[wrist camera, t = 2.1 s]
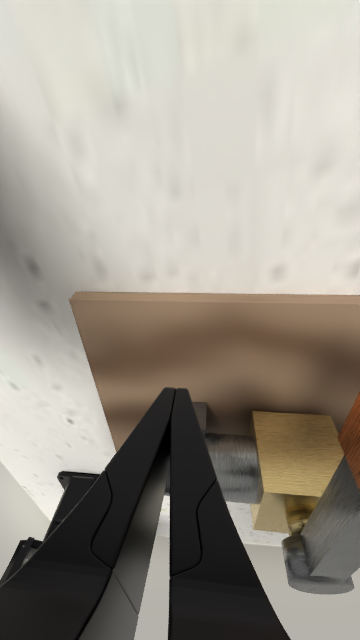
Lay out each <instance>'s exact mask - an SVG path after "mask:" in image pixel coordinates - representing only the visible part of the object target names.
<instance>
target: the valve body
mask: <svg viewBox="0 0 360 640" xmlns="http://www.w3.org/2000/svg"><path fill="white" fill-rule="evenodd" d="M192 403H193V406H194V409H195V412H196V415H197V418H198V421H199V424H200V427H201V430H202V433H203V436H204V439H205V442H206V445H207V449H208V452H209V455H210V458H211V461H212V464H213V467H214V470H215V473H216V476H217V481H218V482H219V485H220V488H221V491H222V494H223V497H224V499H225V501H230V502H240V503H250V504H251V513H252V523H253V530H262V531H271V532H281V533H289V536H294V535H299V534H301V532H302V530H303V528H304V527H305V525H306V523H307V521H308V519H309V518H310V516H311V514H312V512H313V510H314V509H315V507H316V505H317V503H318V501H319V500H320V498H321V496H322V494H323V492H324V491H325V489H326V487H327V485H328V483H329V482H330V480H331V478H332V476H333V474H334V473H335V471H336V469H337V467H338V465H339V464H340V462H341V460H342V458H343V456H344V452H343V450H342V448H341V445H340V443H339V441H338V438H337V436H338V432H337V430H336V427H335V425H334V423H333V420H332V418H331V416H329V415H312V414H295V413H278V412H261V411H252V415H251V421H250V427H249V432H248V435H233V434H218V433H206V404H207V402H192ZM140 420H141V419H140ZM140 420H139V421H140ZM138 423H139V422H138ZM164 495H166V496H170V468H169V473H168V478H167V482H166V487H165V492H164Z"/></svg>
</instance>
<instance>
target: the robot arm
mask: <svg viewBox="0 0 360 640" xmlns="http://www.w3.org/2000/svg"><path fill="white" fill-rule="evenodd" d="M169 468H170V580H169V624H168V626H169V627H168V640H291V639H290V638H289V636H288V635H287V633H286V631H285V630H284V628H283V626H282V624H281V623H280V621H279V619H278V617H277V615H276V613H275V611H274V610H273V608H272V605H271V604H270V602H269V599H268V597H267V595H266V594H265V592H264V589H263V587H262V585H261V583H260V580H259V579H258V576H257V574H256V572H255V570H254V567H253V565H252V563H251V561H250V559H249V556H248V555H247V552H246V550H245V548H244V546H243V543H242V541H241V539H240V537H239V535H238V532H237V530H236V527H235V525H234V523H233V520H232V518H231V516H230V513H229V510H228V508H227V505H226V502H225V499H224V497H223V494H222V491H221V488H220V485H219V482H218V481H217V476H216V473H215V470H214V467H213V464H212V461H211V458H210V455H209V452H208V449H207V445H206V442H205V439H204V436H203V433H202V430H201V427H200V424H199V421H198V418H197V415H196V412H195V409H194V406H193V403H192V400H191V397H190V394H189V391H188V389H187V388H177V389H176V388H173V387H165V388H164V389H163V390H162V391H161V393H160V394H159V395H158V397H157V398H156V399H155V401H154V402H153V403H152V405H151V406H150V408H149V409H148V410H147V412H146V413H145V414H144V416H143V417H142V418H141V420H140V421H139V423H138V424H137V425H136V427H135V428H134V429H133V431H132V432H131V434H130V435H129V436H128V438H127V439H126V440H125V442H124V443H123V444H122V446H121V447H120V449H119V450H118V451H117V453H116V454H115V455H114V457H113V458H112V459H111V461H110V462H109V464H108V465H107V466H106V468H105V471H103V472H102V473H101V474H100V475H88V474H77V473H66V472H59V474H58V476H57V478H58V480H59V481H60V483H61V485H62V486H63V488H64V493H63V495H62V497H61V500H60V502H59V505H58V507H57V509H56V512H55V514H54V516H53V519H52V521H51V523H50V526H49V528H48V530H47V533H46V535H45V538H44V540H43V542H42V541H39V540H35V539H34V538H32V537H29V538H28V540H21V541H20V542H19V545H18V547H17V549H16V551H15V553H14V555H13V557H12V559H11V561H10V563H9V565H8V567H7V569H6V571H5V573H4V574H3V576H2V578H1V580H0V640H134V636H135V631H136V626H137V621H138V614H139V611H140V606H141V602H142V597H143V592H144V587H145V583H146V577H147V572H148V568H149V564H150V558H151V554H152V549H153V544H154V540H155V535H156V530H157V525H158V521H159V516H160V511H161V506H162V501H163V497H164V492H165V487H166V482H167V478H168V473H169ZM27 559H28V561H27ZM26 561H27V562H26Z"/></svg>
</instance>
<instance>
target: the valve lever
mask: <svg viewBox="0 0 360 640" xmlns="http://www.w3.org/2000/svg"><path fill="white" fill-rule="evenodd" d="M337 438H338V441H339V443H340V445H341V448H342V450H343V452H344V456H343V458H342V460H341V462H340V464H339V465H338V467H337V469H336V471H335V473H334V474H333V476H332V478H331V480H330V482H329V483H328V485H327V487H326V489H325V491H324V492H323V494H322V496H321V498H320V500H319V501H318V503H317V505H316V507H315V509H314V510H313V512H312V514H311V516H310V518H309V519H308V521H307V523H306V525H305V527H304V528H303V530H302V532H301V534H299V535H294V536H290V537H287V538H285V539H284V540H283V541H282V549H283V554H284V560H285V566H286V571H287V578H288V584H289V585H290V586H291V587H292V588H294V589H296V590H299V591H303V592H307V593H314V594H340V593H346V592H349V591H351V590H353V589H354V584H353V581H352V578H351V575H352V574H353V573H354V572H355V571H356V570H357V569H358V568H359V567H360V392H359V394H358V396H357V398H356V400H355V402H354V404H353V406H352V408H351V410H350V412H349V414H348V416H347V418H346V420H345V422H344V424H343V426H342V428H341V430H340V432H339V434H338V436H337Z"/></svg>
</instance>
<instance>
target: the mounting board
mask: <svg viewBox="0 0 360 640" xmlns="http://www.w3.org/2000/svg"><path fill="white" fill-rule="evenodd" d="M69 301H70V304H71V307H72V311H73V314H74V317H75V320H76V323H77V327H78V330H79V333H80V336H81V340H82V343H83V346H84V349H85V352H86V356H87V359H88V362H89V365H90V368H91V372H92V375H93V378H94V381H95V384H96V388H97V391H98V394H99V397H100V400H101V404H102V407H103V410H104V413H105V416H106V420H107V423H108V426H109V429H110V432H111V436H112V439H113V442H114V445H115V449H116V452H117V451H118V450H119V449H120V447H121V446H122V444H123V443H124V442H125V440H126V439H127V438H128V436H129V435H130V434H131V432H132V431H133V429H134V428H135V427H136V425H137V424H138V422H139V420H140V419H141V418H142V417H143V416H144V414H145V413H146V412H147V410H148V409H149V408H150V406H151V405H152V403H153V402H154V401H155V399H156V398H157V397H158V395H159V394H160V393H161V391H162V390H163V389H164V388H165V387H173V388H176V389H177V388H187V389H188V391H189V394H190V397H191V400H192V402H207V404H206V433H218V434H233V435H248V432H249V427H250V421H251V415H252V411H261V412H278V413H295V414H312V415H329V416H331V418H332V420H333V423H334V425H335V427H336V430H337V432H338V434H339V432H340V430H341V428H342V426H343V424H344V422H345V420H346V418H347V416H348V414H349V412H350V410H351V408H352V406H353V404H354V402H355V400H356V398H357V396H358V394H359V392H360V295H289V294H210V293H131V292H76V293H75V294H74V295H73V296H72V297H71V298H70V299H69Z"/></svg>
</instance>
